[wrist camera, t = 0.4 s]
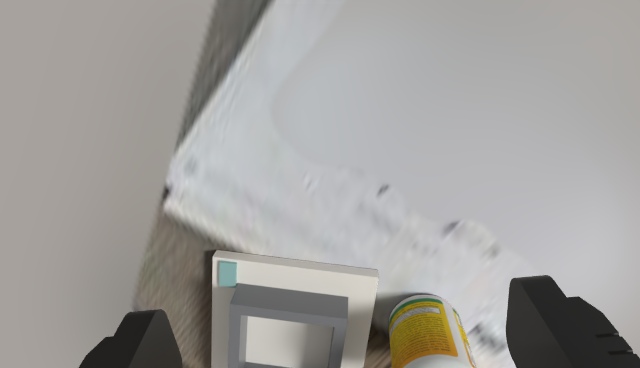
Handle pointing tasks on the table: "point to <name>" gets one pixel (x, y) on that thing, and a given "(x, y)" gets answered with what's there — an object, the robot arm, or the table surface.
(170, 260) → the table surface
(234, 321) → the dock
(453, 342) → the supplement bottle
